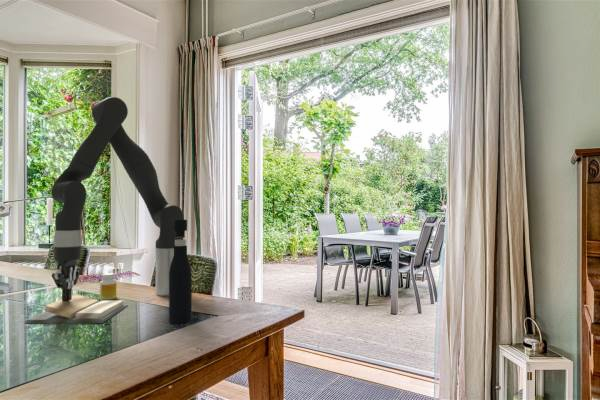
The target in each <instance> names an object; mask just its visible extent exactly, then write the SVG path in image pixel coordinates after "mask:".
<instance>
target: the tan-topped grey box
mask: <svg viewBox="0 0 600 400" xmlns="http://www.w3.org/2000/svg"><path fill="white" fill-rule="evenodd" d="M128 306H129V305H128V304H124V300H116V299H113V300H100V301H98V303H96V304H93V305H91V306H89V307H87V308H85V309H83V310H81V311H79V312H77V313H76V316H75V317H73V318H67V317H64V316H60V315H57V314H53V313H50V312H47V311H43V312H40V313H39V314H36V315H34V316H32V317H30V318H27V319H26V320H25V322H26V324H104V322H106V321H108V320H109V319H111V318H112V317H114V316H115V315H117V314H118V313H120V312H121V311H123V310H124V309H125V308H127V307H128Z"/></svg>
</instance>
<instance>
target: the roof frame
mask: <svg viewBox="0 0 600 400" xmlns="http://www.w3.org/2000/svg"><path fill="white" fill-rule="evenodd" d="M102 274H104V273H102V272H101V273H100V272H99V274H95V273H91V274H86V275H83V276H79V278H78V281H77V283H82V281H81V280H83V282H85V281H84V280H86V279H90V280H87V283H89V282H91V281H92V280H93V279H94V280H93V281H92V282H95V280H96V281H98V280H99V279H102ZM113 274H114V279H115V280H116V281H119V279H121V278H122V279H124V278H127V277H129V278H135V277H138V276H139V277H141V276H142V275H141V274H139V273H137V272H134V271H130V270H129V271H126V272H122V273H121V272H117V273H115V272H113ZM89 277H90V278H89ZM82 278H83V279H82ZM92 278H93V279H92ZM95 278H97V279H95ZM91 279H92V280H91ZM88 281H89V282H88ZM77 283H76V285H77Z"/></svg>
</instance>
